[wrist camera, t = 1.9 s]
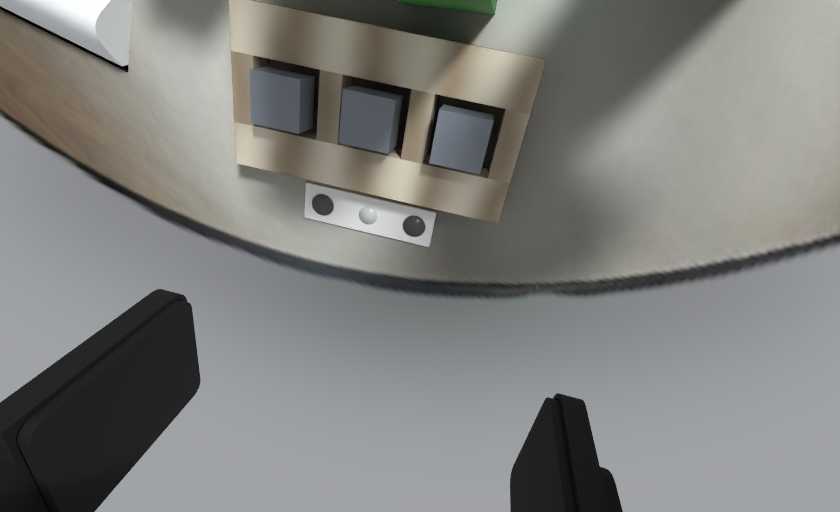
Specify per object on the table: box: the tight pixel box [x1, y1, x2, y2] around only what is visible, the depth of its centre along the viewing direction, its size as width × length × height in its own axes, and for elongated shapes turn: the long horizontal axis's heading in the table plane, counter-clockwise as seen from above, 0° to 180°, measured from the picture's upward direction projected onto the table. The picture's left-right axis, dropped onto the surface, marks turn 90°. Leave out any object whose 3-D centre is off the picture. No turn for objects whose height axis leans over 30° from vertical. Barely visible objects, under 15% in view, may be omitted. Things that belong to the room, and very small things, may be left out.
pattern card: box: [304, 182, 437, 247], centre depth 43 cm, size 14×4×1 cm, turn 80°
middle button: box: [339, 85, 403, 154], centre depth 35 cm, size 4×4×3 cm
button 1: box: [250, 67, 315, 134], centre depth 36 cm, size 4×4×3 cm
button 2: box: [429, 104, 494, 174], centre depth 35 cm, size 4×4×3 cm
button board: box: [228, 0, 546, 224], centre depth 37 cm, size 26×14×3 cm, turn 80°
